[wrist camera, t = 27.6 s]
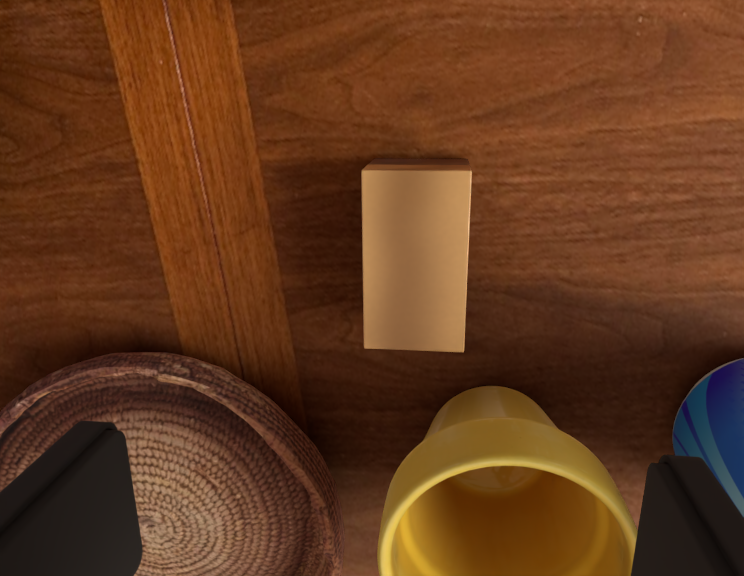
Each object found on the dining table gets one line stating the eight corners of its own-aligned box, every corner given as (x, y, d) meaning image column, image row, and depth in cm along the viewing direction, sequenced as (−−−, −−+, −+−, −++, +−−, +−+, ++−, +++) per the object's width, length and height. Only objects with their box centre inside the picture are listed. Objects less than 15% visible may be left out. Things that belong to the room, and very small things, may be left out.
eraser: (468, 158, 28) (471, 170, 24) (461, 316, 31) (464, 352, 27) (373, 158, 29) (361, 170, 25) (374, 313, 31) (363, 348, 27)
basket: (56, 623, 41) (6, 691, 37) (-52, 359, 35) (-127, 400, 31) (377, 613, 38) (367, 687, 33) (316, 316, 32) (293, 355, 27)
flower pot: (472, 312, 31) (484, 408, 21) (630, 423, 32) (706, 561, 22) (360, 448, 34) (327, 582, 25) (505, 545, 35) (526, 709, 26)
